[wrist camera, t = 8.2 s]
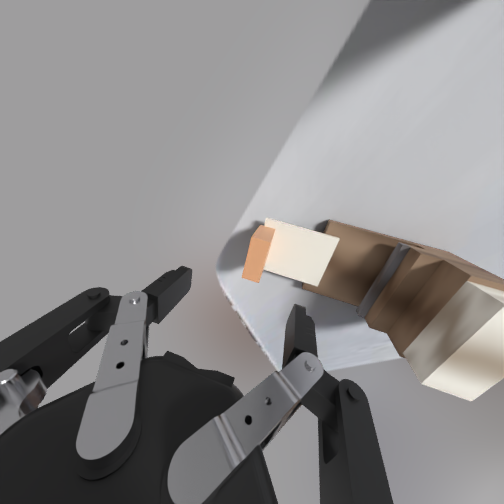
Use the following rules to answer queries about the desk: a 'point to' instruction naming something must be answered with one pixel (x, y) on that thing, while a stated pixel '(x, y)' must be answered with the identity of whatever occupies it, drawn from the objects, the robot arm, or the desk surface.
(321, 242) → the plank with orange cube
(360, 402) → the robot arm
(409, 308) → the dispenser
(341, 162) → the desk surface
